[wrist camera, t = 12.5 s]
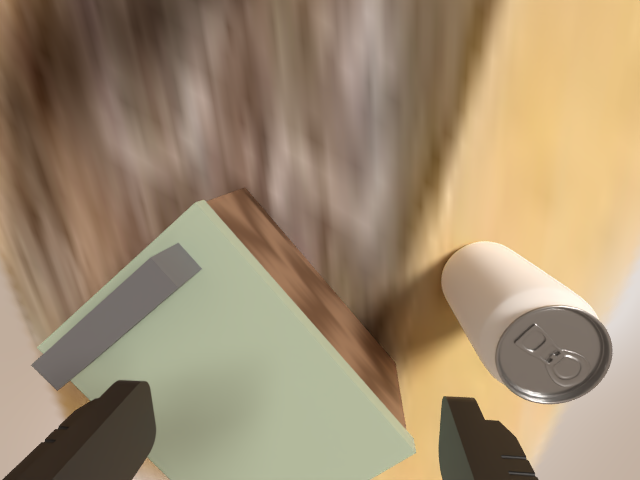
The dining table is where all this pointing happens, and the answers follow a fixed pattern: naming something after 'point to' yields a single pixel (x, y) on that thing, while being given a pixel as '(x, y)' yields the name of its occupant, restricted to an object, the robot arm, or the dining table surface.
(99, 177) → the dining table surface
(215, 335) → the lid
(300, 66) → the dining table surface
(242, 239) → the chest
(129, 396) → the robot arm
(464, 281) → the can
